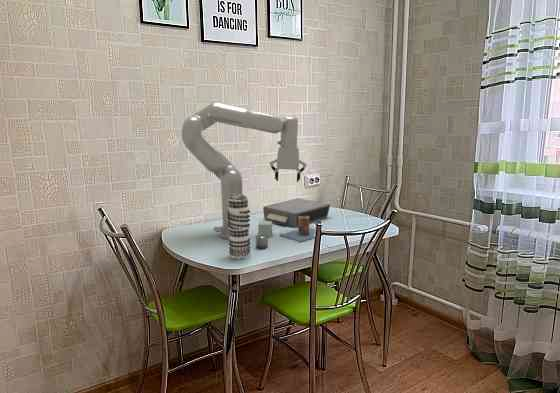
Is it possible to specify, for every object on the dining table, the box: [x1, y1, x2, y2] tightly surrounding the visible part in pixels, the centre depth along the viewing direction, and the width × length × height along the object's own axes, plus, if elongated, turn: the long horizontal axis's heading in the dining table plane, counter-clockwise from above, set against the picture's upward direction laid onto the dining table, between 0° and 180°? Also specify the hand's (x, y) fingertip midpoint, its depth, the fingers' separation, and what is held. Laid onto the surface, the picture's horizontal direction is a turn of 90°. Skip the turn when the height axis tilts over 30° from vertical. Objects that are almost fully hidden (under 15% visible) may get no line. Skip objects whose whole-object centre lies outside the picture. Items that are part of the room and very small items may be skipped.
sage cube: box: [257, 220, 273, 238], centre depth 196 cm, size 6×6×6 cm
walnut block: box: [297, 216, 310, 235], centre depth 194 cm, size 5×5×8 cm
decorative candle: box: [227, 193, 251, 260], centre depth 167 cm, size 9×9×25 cm
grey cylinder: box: [255, 234, 269, 250], centre depth 178 cm, size 5×5×5 cm
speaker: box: [262, 197, 331, 229], centre depth 223 cm, size 24×8×30 cm
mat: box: [279, 227, 316, 243], centre depth 195 cm, size 18×14×1 cm
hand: (287, 181), depth 195 cm, fingers open, 9 cm apart
